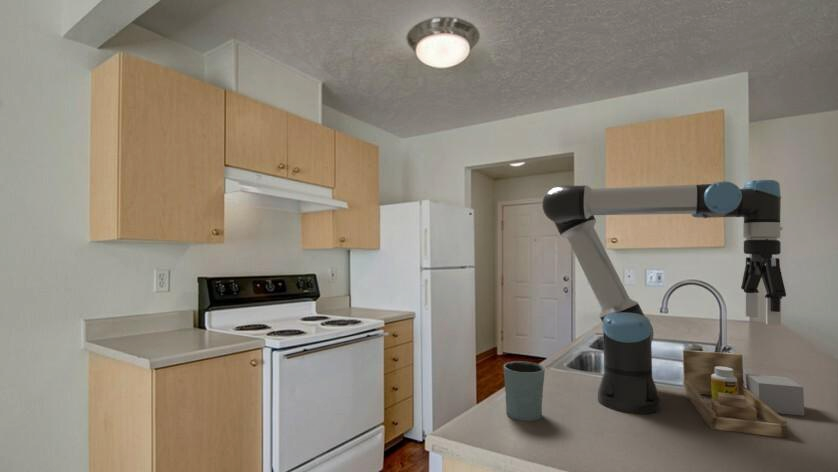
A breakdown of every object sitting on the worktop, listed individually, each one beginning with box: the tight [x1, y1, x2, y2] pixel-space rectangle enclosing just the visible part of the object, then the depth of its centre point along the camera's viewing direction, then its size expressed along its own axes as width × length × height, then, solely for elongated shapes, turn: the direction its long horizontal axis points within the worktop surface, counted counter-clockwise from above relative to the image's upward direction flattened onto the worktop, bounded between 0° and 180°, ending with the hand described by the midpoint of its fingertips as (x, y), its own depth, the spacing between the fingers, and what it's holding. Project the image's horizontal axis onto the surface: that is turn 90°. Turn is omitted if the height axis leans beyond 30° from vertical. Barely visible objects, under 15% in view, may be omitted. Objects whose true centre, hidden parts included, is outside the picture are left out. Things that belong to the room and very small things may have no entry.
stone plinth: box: [745, 373, 805, 416], centre depth 109 cm, size 9×9×7 cm
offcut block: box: [718, 392, 746, 408], centre depth 99 cm, size 5×3×2 cm, turn 61°
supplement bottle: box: [711, 366, 738, 401], centre depth 109 cm, size 6×6×10 cm
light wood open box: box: [682, 349, 788, 439], centre depth 107 cm, size 14×28×12 cm, turn 159°
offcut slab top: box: [710, 399, 758, 421], centre depth 98 cm, size 8×4×2 cm, turn 71°
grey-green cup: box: [503, 361, 546, 422], centre depth 105 cm, size 10×10×12 cm
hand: (761, 320), depth 110 cm, fingers open, 13 cm apart
